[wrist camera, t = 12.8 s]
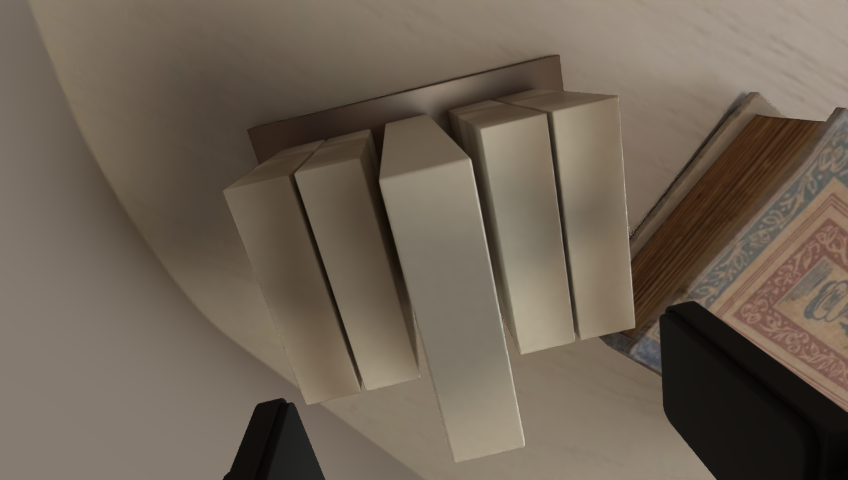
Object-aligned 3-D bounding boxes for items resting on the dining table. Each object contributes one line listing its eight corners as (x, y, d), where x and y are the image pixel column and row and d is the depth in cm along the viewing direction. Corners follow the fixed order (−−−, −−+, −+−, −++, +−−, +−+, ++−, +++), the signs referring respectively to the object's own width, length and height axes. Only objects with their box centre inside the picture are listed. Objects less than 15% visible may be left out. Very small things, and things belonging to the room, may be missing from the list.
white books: (318, 318, 31) (283, 439, 21) (251, 127, 27) (163, 160, 16) (577, 257, 31) (671, 348, 20) (553, 54, 26) (659, 41, 16)
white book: (423, 278, 29) (453, 464, 15) (385, 123, 26) (378, 179, 12) (461, 269, 29) (526, 447, 15) (427, 113, 26) (471, 157, 12)
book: (848, 97, 21) (1104, 330, 27) (744, 91, 28) (971, 282, 34) (613, 361, 26) (878, 513, 32) (570, 304, 32) (798, 440, 38)
